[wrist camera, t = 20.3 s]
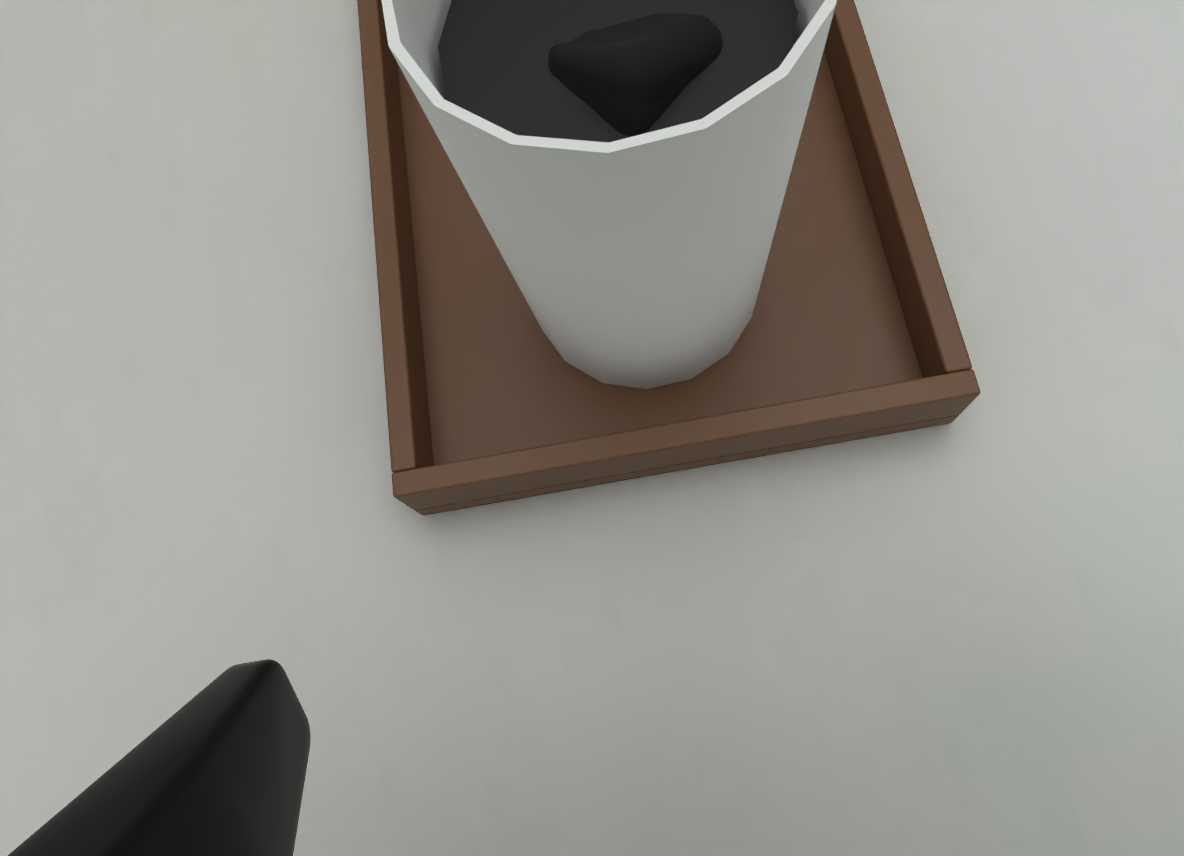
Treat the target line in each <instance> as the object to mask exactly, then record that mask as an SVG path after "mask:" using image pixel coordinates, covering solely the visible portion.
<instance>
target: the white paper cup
mask: <svg viewBox="0 0 1184 856" xmlns="http://www.w3.org/2000/svg"><path fill="white" fill-rule="evenodd" d="M381 1H382V7H383V14H384V20H385V27H386V33H387V40H388V46H389V48H390V50H391V52H392V54H393V55H394V57H395V59H396V61H397V63H398V65H399V66H400V68H401V70H402V72H403V74H404V76H405V78H406V79H407V81H408V83H409V85H410V87H411V89H412V90H413V92H414V94H415V96H416V98H417V100H418V102H419V103H420V105H421V107H422V109H423V111H424V113H425V114H426V116H427V118H428V120H429V122H430V124H431V126H432V127H433V129H434V131H435V133H436V135H437V137H438V138H439V140H440V142H441V144H442V146H443V148H444V150H445V151H446V153H447V155H448V157H449V159H450V161H451V162H452V164H453V166H454V168H455V170H456V172H457V174H458V175H459V177H460V179H461V181H462V183H463V185H464V186H465V188H466V190H467V192H468V194H469V196H470V198H471V199H472V201H473V203H474V205H475V207H476V209H477V210H478V212H479V214H480V216H481V218H482V220H483V222H484V223H485V225H486V227H487V229H488V231H489V233H490V234H491V236H492V238H493V240H494V242H495V244H496V246H497V247H498V249H499V251H500V253H501V255H502V257H503V258H504V260H505V262H506V264H507V266H508V268H509V270H510V271H511V273H512V275H513V277H514V279H515V281H516V282H517V284H518V286H519V288H520V290H521V292H522V294H523V295H524V297H525V299H526V301H527V303H528V305H529V306H530V308H531V310H532V312H533V314H534V316H535V318H536V319H537V321H538V323H539V325H540V327H541V329H542V331H543V332H544V333H545V335H546V336H547V337H548V339H549V340H550V341H551V343H552V344H553V346H554V347H555V348H556V350H557V351H558V352H559V354H560V355H561V356H562V358H563V359H564V360H565V362H567V363H569V364H570V365H572V366H574V367H576V368H577V369H579V370H581V371H583V372H584V373H586V374H588V375H589V376H591V377H593V378H595V379H596V380H598V381H600V382H602V383H606V384H613V385H620V386H628V387H635V388H642V389H650V388H654V387H659V386H663V385H667V384H671V383H676V382H680V381H684V380H688V379H692V378H694V377H695V376H696V375H698V374H699V373H701V372H702V371H704V370H705V369H707V368H708V367H710V366H711V365H712V364H714V363H715V362H717V361H718V360H720V359H721V358H723V357H724V356H726V355H727V354H728V353H729V352H730V351H731V349H732V348H733V346H734V344H735V343H736V341H737V340H738V338H739V337H740V335H741V334H742V332H743V330H744V329H745V327H746V326H747V324H748V323H749V321H750V320H751V318H752V314H753V310H754V307H755V303H756V299H757V296H758V292H759V288H760V284H761V281H762V277H763V273H764V270H765V266H766V262H767V259H768V255H769V251H770V247H771V244H772V240H773V236H774V233H775V229H776V225H777V221H778V218H779V214H780V210H781V207H782V203H783V199H784V195H785V192H786V188H787V184H788V181H789V177H790V173H791V169H792V166H793V162H794V158H795V155H796V151H797V147H798V144H799V140H800V136H801V132H802V129H803V125H804V121H805V118H806V114H807V110H808V106H809V103H810V99H811V95H812V92H813V88H814V84H815V80H816V77H817V73H818V69H819V66H820V62H821V58H822V54H823V51H824V47H825V43H826V40H827V36H828V32H829V29H830V25H831V21H832V17H833V14H834V10H835V6H836V2H837V0H381Z"/></svg>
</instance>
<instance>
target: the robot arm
mask: <svg viewBox="0 0 1184 856" xmlns="http://www.w3.org/2000/svg"><path fill="white" fill-rule="evenodd" d="M309 749H310V727H309V723H308V720H307V717H306V715H305V713H304V710H303V708H302V706H301V704H300V702H299V700H298V698H297V696H296V694H295V692H294V690H293V687H292V685H291V683H290V681H289V679H288V677H287V675H286V673H285V671H284V669H283V668H282V666H281V665H280V664H279V663H278V662H276V661H274V660H268V659H267V660H261V661H255V662H249V663H243V664H238V665H234V666H232V667H230V668H229V669H227V670H226V671H225V672H223V673H222V674H221V675H220V676H219V677H218V678H216V679H215V680H214V681H213V682H212V683H211V684H209V685H208V686H207V687H206V688H205V689H203V690H202V691H201V692H200V693H199V694H198V695H196V696H195V697H194V698H193V699H192V700H190V701H189V702H188V703H187V704H186V705H185V706H183V707H182V708H181V709H180V710H179V711H178V712H176V713H175V714H174V715H173V716H172V717H170V718H169V719H168V720H167V721H166V722H165V723H163V724H162V725H161V726H160V727H159V728H158V729H156V730H155V731H154V732H153V733H152V734H150V735H149V736H148V737H147V738H146V739H145V740H143V741H142V742H141V743H140V744H139V745H137V746H136V747H135V748H134V749H133V750H132V751H130V752H129V753H128V754H127V755H126V756H125V757H123V758H122V759H121V760H120V761H119V762H117V763H116V764H115V765H114V766H113V767H112V768H110V769H109V770H108V771H107V772H106V773H105V774H103V775H102V776H101V777H100V778H99V779H97V780H96V781H95V782H94V783H93V784H92V785H90V786H89V787H88V788H87V789H86V790H84V791H83V792H82V793H81V794H80V795H79V796H77V797H76V798H75V799H74V800H73V801H72V802H70V803H69V804H68V805H67V806H66V807H64V808H63V809H62V810H61V811H60V812H59V813H57V814H56V815H55V816H54V817H53V818H52V819H50V820H49V821H48V822H47V823H46V824H44V825H43V826H42V827H41V828H40V829H39V830H37V831H36V832H35V833H34V834H33V835H31V836H30V837H29V838H28V839H27V840H26V841H24V842H23V843H22V844H21V845H20V846H19V847H17V848H16V849H15V850H14V851H13V852H11V853H10V854H9V855H8V856H293V851H294V845H295V839H296V832H297V826H298V819H299V813H300V807H301V800H302V794H303V787H304V781H305V775H306V768H307V762H308V755H309Z"/></svg>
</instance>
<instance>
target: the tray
mask: <svg viewBox="0 0 1184 856" xmlns="http://www.w3.org/2000/svg"><path fill="white" fill-rule="evenodd" d="M357 1H358V15H359V28H360V42H361V56H362V70H363V84H364V97H365V111H366V125H367V139H368V152H369V166H370V180H371V194H372V207H373V221H374V235H375V249H376V263H377V276H378V290H379V304H380V318H381V331H382V345H383V359H384V373H385V386H386V400H387V414H388V428H389V442H390V455H391V469H392V472H393V473H392V484H393V496H394V497H395V498H396V499H398V500H400V501H401V502H403V503H404V504H406V505H407V506H409V507H411V508H412V509H414V510H415V511H417V512H418V513H420V514H422V515H426V514H432V513H437V512H443V511H449V510H454V509H460V508H466V507H472V506H477V505H483V504H489V503H494V502H500V501H506V500H512V499H517V498H523V497H529V496H534V495H540V494H546V493H552V492H557V491H563V490H569V489H574V488H580V487H586V486H592V485H597V484H603V483H609V482H614V481H620V480H626V479H632V478H637V477H643V476H649V475H654V474H660V473H666V472H672V471H677V470H683V469H689V468H694V467H700V466H706V465H712V464H717V463H723V462H729V461H734V460H740V459H746V458H752V457H757V456H763V455H769V454H774V453H780V452H786V451H792V450H797V449H803V448H809V447H814V446H820V445H826V444H832V443H837V442H843V441H849V440H854V439H860V438H866V437H872V436H877V435H883V434H889V433H894V432H900V431H906V430H912V429H917V428H923V427H929V426H934V425H940V424H946V423H951V422H953V421H954V420H955V419H956V418H957V417H958V416H959V414H960V413H961V412H962V411H963V410H964V409H965V408H966V407H967V406H968V405H969V404H970V403H971V402H972V401H973V400H974V399H975V398H976V397H977V396H978V395H979V394H980V389H979V386H978V383H977V380H976V377H975V374H974V371H973V370H972V369H971V368H972V365H971V362H970V359H969V356H968V353H967V350H966V346H965V343H964V340H963V337H962V334H961V331H960V328H959V325H958V322H957V319H956V315H955V312H954V309H953V306H952V303H951V300H950V297H949V294H948V291H947V288H946V284H945V281H944V278H943V275H942V272H941V269H940V266H939V263H938V260H937V257H936V253H935V250H934V247H933V244H932V241H931V238H930V235H929V232H928V229H927V226H926V223H925V219H924V216H923V213H922V210H921V207H920V204H919V201H918V198H917V195H916V192H915V188H914V185H913V182H912V179H911V176H910V173H909V170H908V167H907V164H906V161H905V157H904V154H903V151H902V148H901V145H900V142H899V139H898V136H897V133H896V130H895V126H894V123H893V120H892V117H891V114H890V111H889V108H888V105H887V102H886V99H885V95H884V92H883V89H882V86H881V83H880V80H879V77H878V74H877V71H876V68H875V65H874V61H873V58H872V55H871V52H870V49H869V46H868V43H867V40H866V37H865V34H864V30H863V27H862V24H861V21H860V18H859V15H858V12H857V9H856V6H855V3H854V0H837V2H836V6H835V10H834V14H833V17H832V21H831V25H830V29H829V32H828V36H827V40H826V43H825V47H824V51H823V54H822V58H821V62H820V66H819V69H818V73H817V77H816V80H815V84H814V88H813V92H812V95H811V99H810V103H809V106H808V110H807V114H806V118H805V121H804V125H803V129H802V132H801V136H800V140H799V144H798V147H797V151H796V155H795V158H794V162H793V166H792V169H791V173H790V177H789V181H788V184H787V188H786V192H785V195H784V199H783V203H782V207H781V210H780V214H779V218H778V221H777V225H776V229H775V233H774V236H773V240H772V244H771V247H770V251H769V255H768V259H767V262H766V266H765V270H764V273H763V277H762V281H761V284H760V288H759V292H758V296H757V299H756V303H755V307H754V310H753V314H752V318H751V320H750V321H749V323H748V324H747V326H746V327H745V329H744V330H743V332H742V334H741V335H740V337H739V338H738V340H737V341H736V343H735V344H734V346H733V348H732V349H731V351H730V352H729V353H728V354H727V355H726V356H724V357H723V358H721V359H720V360H718V361H717V362H715V363H714V364H712V365H711V366H710V367H708V368H707V369H705V370H704V371H702V372H701V373H699V374H698V375H696V376H695V377H694V378H692V379H688V380H684V381H680V382H676V383H671V384H667V385H663V386H659V387H654V388H650V389H642V388H635V387H628V386H620V385H613V384H606V383H602V382H600V381H598V380H596V379H595V378H593V377H591V376H589V375H588V374H586V373H584V372H583V371H581V370H579V369H577V368H576V367H574V366H572V365H570V364H569V363H567V362H565V360H564V359H563V358H562V356H561V355H560V354H559V352H558V351H557V350H556V348H555V347H554V346H553V344H552V343H551V341H550V340H549V339H548V337H547V336H546V335H545V333H544V332H543V331H542V329H541V327H540V325H539V323H538V321H537V319H536V318H535V316H534V314H533V312H532V310H531V308H530V306H529V305H528V303H527V301H526V299H525V297H524V295H523V294H522V292H521V290H520V288H519V286H518V284H517V282H516V281H515V279H514V277H513V275H512V273H511V271H510V270H509V268H508V266H507V264H506V262H505V260H504V258H503V257H502V255H501V253H500V251H499V249H498V247H497V246H496V244H495V242H494V240H493V238H492V236H491V234H490V233H489V231H488V229H487V227H486V225H485V223H484V222H483V220H482V218H481V216H480V214H479V212H478V210H477V209H476V207H475V205H474V203H473V201H472V199H471V198H470V196H469V194H468V192H467V190H466V188H465V186H464V185H463V183H462V181H461V179H460V177H459V175H458V174H457V172H456V170H455V168H454V166H453V164H452V162H451V161H450V159H449V157H448V155H447V153H446V151H445V150H444V148H443V146H442V144H441V142H440V140H439V138H438V137H437V135H436V133H435V131H434V129H433V127H432V126H431V124H430V122H429V120H428V118H427V116H426V114H425V113H424V111H423V109H422V107H421V105H420V103H419V102H418V100H417V98H416V96H415V94H414V92H413V90H412V89H411V87H410V85H409V83H408V81H407V79H406V78H405V76H404V74H403V72H402V70H401V68H400V66H399V65H398V63H397V61H396V59H395V57H394V55H393V54H392V52H391V50H390V48H389V46H388V40H387V33H386V27H385V20H384V14H383V7H382V1H381V0H357Z"/></svg>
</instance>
